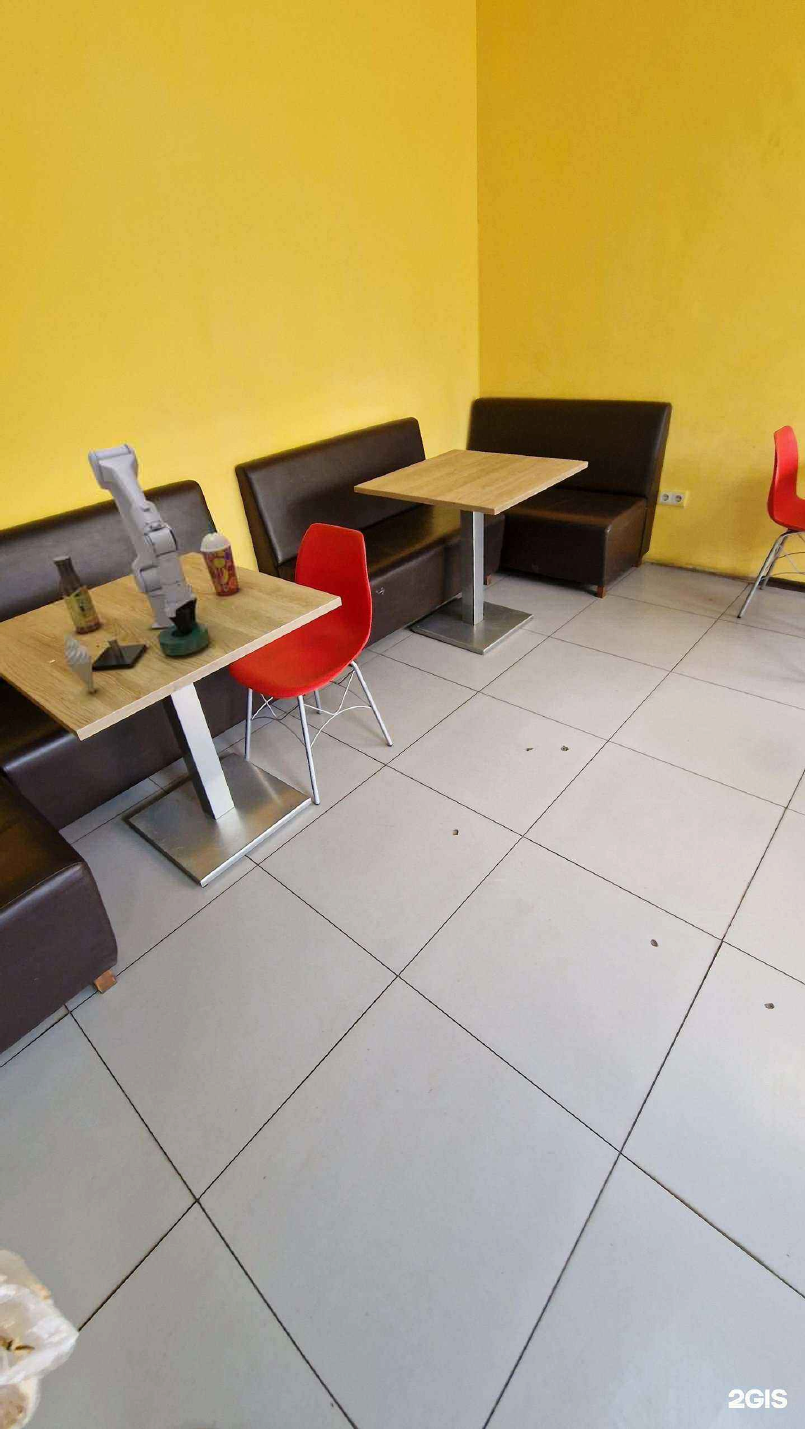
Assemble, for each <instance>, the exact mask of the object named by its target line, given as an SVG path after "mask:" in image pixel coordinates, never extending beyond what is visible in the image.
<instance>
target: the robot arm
mask: <svg viewBox="0 0 805 1429" xmlns="http://www.w3.org/2000/svg"><path fill="white" fill-rule="evenodd" d="M87 459H88V463H89V465H90V468H91V471H92V473H93V475H94V478H95V480H96V482H97V485H98V486H99V487H100V489H101V490H106V491H108V492H109V494H110V495H111V497H112V498H113V500H114V502H115V504H116V507H117V509H118V512H119V514H120V517H121V520H122V521H123V524H124V526H125V529H126V532H127V533H128V536H129V538H130V541H131V543H132V546H133V548H134V550H135V553H136V555H137V556H136V558H135V560H134V561H133V562H132V564H131V567H130V568H131V569H130V570H131V572H132V575H133V579H134V582H135V585H136V587H137V589H138V591H139V592H140V593H141V594H142V595H145V596H146V597H147V599H148V602H149V605H150V608H151V611H152V613H153V617H154V620H155V622H154V623H153V624H152V625H151V629H163V628H165V629H166V628H168V627H170V626H172V625H176V627H177V628H178V630H179V631H180V633H181V634H182V636H186V635H188V634H190V633H191V628H190V623H189V622H193V621H196V622H197V619H196V618H197V616H196V610H197V609H196V608H197V602H198V598H197V597H196V596H197V595H196V594H195V593H194V589H193V585H192V584H188V583H187V580H186V577H185V573H184V570H183V567H182V564H181V563H182V562H181V561H180V560H181V559H180V557H179V554H178V551H179V549H180V547H179V546H180V545H179V541H178V539H177V536H176V534H175V532H174V530H173V528H172V527H171V526H170V525H169V524H168V523H167V522H164V520H163V518H162V516H161V514H160V512H159V511H158V509H157V507H156V505H155V504H154V503H153V502H152V501H149V500H147V499H146V496H145V494H144V492H143V489H142V487H141V485H140V483H139V481H138V476H139V462H138V461H139V460H138V458H137V455H136V453H135V450H134V449H133V447H132V446H131V445H130V444H128V443H124V444H122V445H117V446H112V447H108V448H103V449H98V450H89V451H88V454H87ZM151 565H152V566H151ZM147 566H148V567H147ZM144 567H145V568H144Z"/></svg>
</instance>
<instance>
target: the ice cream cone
mask: <svg viewBox="0 0 805 1429" xmlns="http://www.w3.org/2000/svg"><path fill="white" fill-rule="evenodd" d="M64 647H66V649H65V650H64V652H63V653H64V654H65V655H64V656H63V657H64V659H67V660H66V661H65V662H66V665H67V666H68V667H69V668H70V669H71V670H72V672H73V673H74V674H75V675H77V677H78V678H79V680H80V681H81V682H82V683H83V684H84V685H85V686H86V688H88V690H89V691H90V692H91V693H94V692H95V685H94V684H95V683H94V674H93V673H94V672H93V671H92V664H93V663H92V655H91V654H90V652H89V649H88V648H87V647H86V646H84V645H82V644H80V643H79V641H78V640H77V639H75V638H74V637H73V636H71V635H70V633H69V632H68V631H65V645H64Z"/></svg>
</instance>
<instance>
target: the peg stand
mask: <svg viewBox="0 0 805 1429" xmlns="http://www.w3.org/2000/svg"><path fill="white" fill-rule="evenodd" d="M107 643H108V646H107V647H106V648H105V649H104V650H103V651H102V652H101V653H100V655H99V656H98V657H97V658H96V659H95V660H94V661H93V662H92V663H91V664H92V672H95V671H111V670H121V669H132V668H133V667H134V665H135V664H136V663H137V662H138V661H139V659H140V658H141V657H142V656H143V654H144V653H145V652H146V650H147V649H148V646H147V644H146V643H139V644H127V645H120V643H119V641H118V639H117V637H116V636H112V637H109V638H107Z"/></svg>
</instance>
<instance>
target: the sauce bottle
mask: <svg viewBox="0 0 805 1429" xmlns="http://www.w3.org/2000/svg"><path fill="white" fill-rule="evenodd" d="M52 561H53V563H54V565H55V566H56V568H57V571H58V574H59V576H60V578H59V583H58V584H59V586H58V587H59V589H60V591H61V594H62V597H63V600H64V603H65V605H66V607H67V610H68V612H69V615H70V618H71V621H72V622H73V625H74V627H75V628H76V631H77V632H79V633H89V632H93V631H95V630H97V629H99V628H100V625H101V623H100V619H99V615H98V613H97V611H96V608H95V606H94V603H93V600H92V598H91V595H90V592H89V590H88V587H87V584H86V583H85V582H84V581H83V580H82V579H81V577H80V576H79V574H78V573H77V572H76V570H75V567H74V564H73V561H72V558H71V556H70V555H68V554H67V555H60V556H57V557H55V558H53V560H52Z"/></svg>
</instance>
